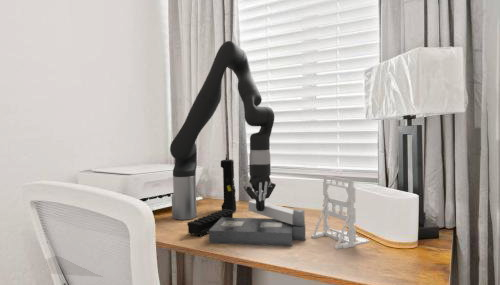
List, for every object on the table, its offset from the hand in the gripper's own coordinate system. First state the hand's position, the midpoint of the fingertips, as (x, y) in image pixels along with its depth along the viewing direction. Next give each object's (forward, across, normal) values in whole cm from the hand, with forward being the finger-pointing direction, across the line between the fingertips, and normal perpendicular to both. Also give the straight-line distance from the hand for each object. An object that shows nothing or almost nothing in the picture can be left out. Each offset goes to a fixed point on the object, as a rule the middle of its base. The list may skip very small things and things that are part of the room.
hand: (260, 210), depth 119 cm
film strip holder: (+6, -13, +25) cm, 29 cm away
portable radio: (+7, -4, -29) cm, 30 cm away
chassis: (+6, +6, +7) cm, 11 cm away
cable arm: (+2, -4, +4) cm, 6 cm away
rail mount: (+7, +14, -11) cm, 19 cm away
